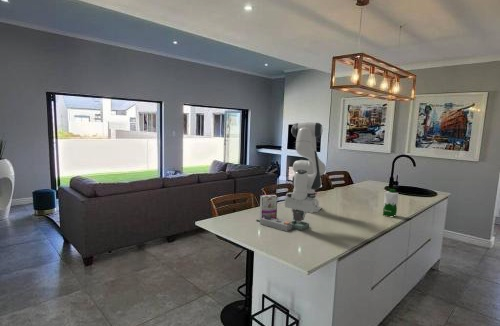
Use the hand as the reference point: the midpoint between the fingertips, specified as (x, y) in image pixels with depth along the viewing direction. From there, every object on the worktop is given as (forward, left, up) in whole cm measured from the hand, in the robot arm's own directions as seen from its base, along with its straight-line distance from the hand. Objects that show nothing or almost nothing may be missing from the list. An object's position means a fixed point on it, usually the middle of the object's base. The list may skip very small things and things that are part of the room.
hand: (298, 216), depth 187 cm
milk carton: (-73, +39, -7) cm, 83 cm away
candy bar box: (-1, -24, -7) cm, 26 cm away
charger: (0, 0, -4) cm, 4 cm away
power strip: (+9, -14, -7) cm, 18 cm away
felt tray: (0, 0, -7) cm, 7 cm away
